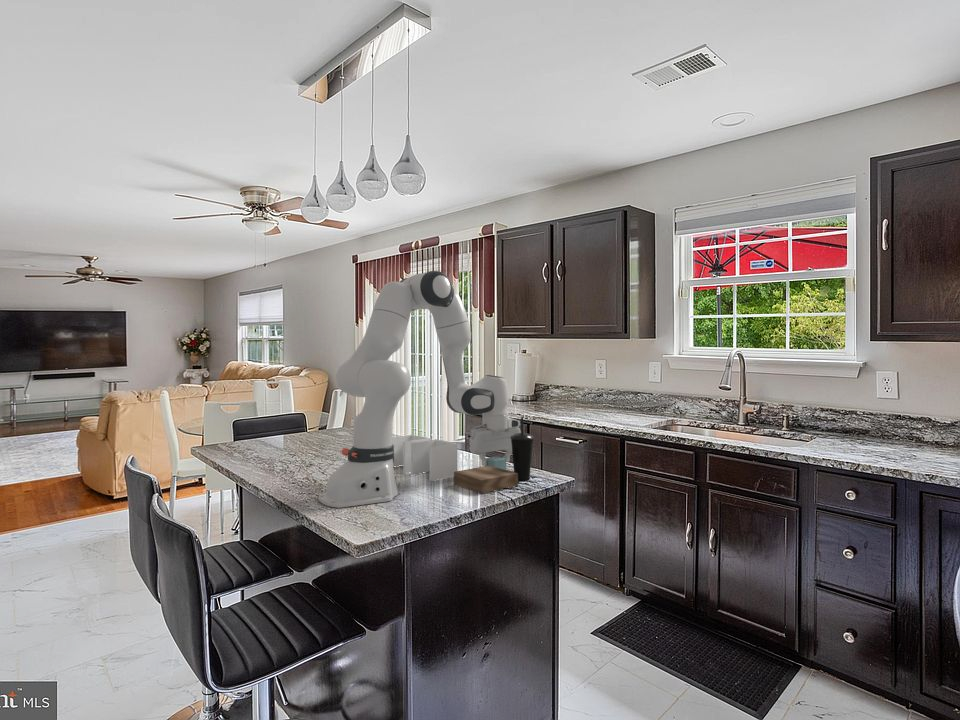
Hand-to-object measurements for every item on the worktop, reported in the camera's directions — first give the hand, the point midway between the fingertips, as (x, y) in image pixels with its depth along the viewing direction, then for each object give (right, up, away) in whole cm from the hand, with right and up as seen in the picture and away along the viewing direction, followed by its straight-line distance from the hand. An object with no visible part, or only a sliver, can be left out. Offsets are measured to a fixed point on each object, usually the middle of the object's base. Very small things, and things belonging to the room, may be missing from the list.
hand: (495, 463), depth 188 cm
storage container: (-26, -4, +1) cm, 26 cm away
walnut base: (-4, -4, -17) cm, 18 cm away
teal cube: (0, -3, 0) cm, 3 cm away
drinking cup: (+8, -4, -9) cm, 12 cm away
